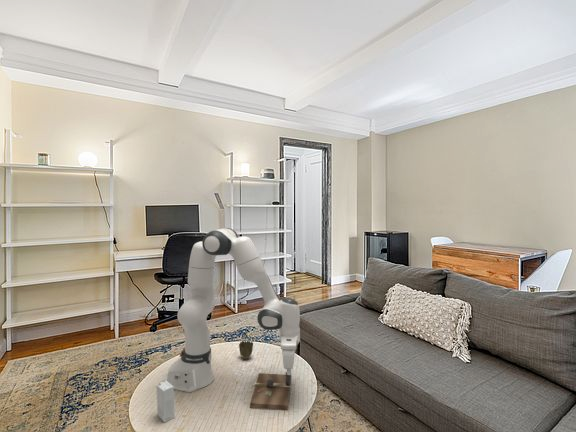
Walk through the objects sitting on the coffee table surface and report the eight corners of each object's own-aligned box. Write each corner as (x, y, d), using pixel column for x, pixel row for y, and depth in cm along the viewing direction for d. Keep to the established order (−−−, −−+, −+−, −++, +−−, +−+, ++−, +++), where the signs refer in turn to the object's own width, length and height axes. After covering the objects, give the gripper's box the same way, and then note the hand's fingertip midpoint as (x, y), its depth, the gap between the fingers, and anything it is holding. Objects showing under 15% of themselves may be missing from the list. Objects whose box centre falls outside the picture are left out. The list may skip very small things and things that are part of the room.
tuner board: (249, 408, 123) (250, 402, 123) (258, 377, 145) (258, 372, 145) (287, 410, 123) (287, 404, 122) (290, 379, 144) (290, 374, 144)
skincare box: (175, 417, 117) (175, 386, 117) (163, 423, 114) (163, 391, 114) (167, 409, 121) (167, 379, 121) (156, 415, 118) (156, 384, 118)
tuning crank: (253, 387, 134) (253, 373, 134) (254, 383, 137) (254, 369, 137) (290, 389, 133) (291, 375, 133) (291, 385, 136) (291, 371, 136)
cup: (250, 362, 159) (250, 347, 158) (236, 361, 160) (236, 345, 160) (254, 355, 166) (255, 341, 166) (241, 354, 167) (241, 339, 167)
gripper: (284, 327, 144) (284, 356, 145) (280, 347, 124) (280, 381, 124) (297, 327, 144) (297, 356, 144) (296, 347, 123) (296, 381, 124)
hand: (289, 368), depth 134 cm, fingers open, 8 cm apart
